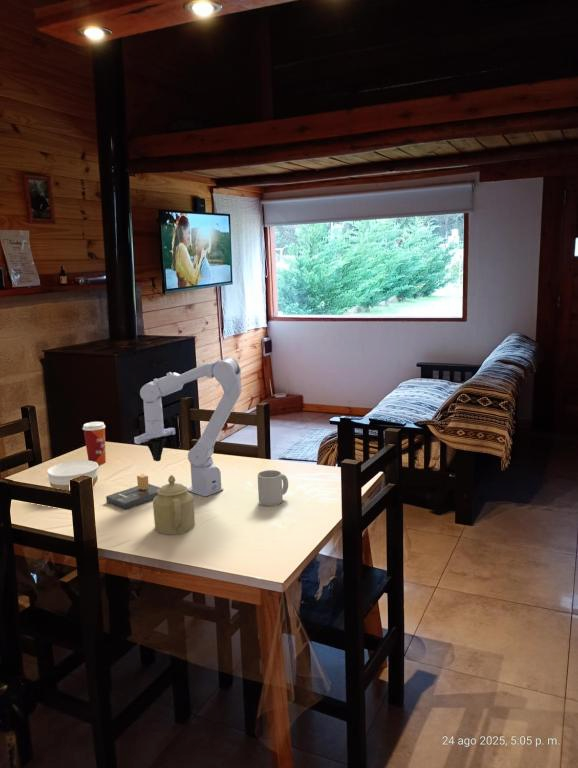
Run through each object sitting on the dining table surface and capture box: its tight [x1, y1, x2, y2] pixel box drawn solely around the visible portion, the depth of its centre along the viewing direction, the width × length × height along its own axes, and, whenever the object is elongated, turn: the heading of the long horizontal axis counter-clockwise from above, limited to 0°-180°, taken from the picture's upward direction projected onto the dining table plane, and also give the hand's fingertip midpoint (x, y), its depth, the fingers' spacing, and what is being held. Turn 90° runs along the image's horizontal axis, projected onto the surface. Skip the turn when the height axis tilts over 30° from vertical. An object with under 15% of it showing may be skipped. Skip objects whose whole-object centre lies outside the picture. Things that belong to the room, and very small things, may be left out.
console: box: [105, 483, 161, 511], centre depth 199 cm, size 10×15×2 cm, turn 138°
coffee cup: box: [81, 421, 107, 466], centre depth 237 cm, size 8×8×15 cm
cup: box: [257, 469, 289, 507], centre depth 193 cm, size 7×10×9 cm
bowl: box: [46, 459, 99, 491], centre depth 208 cm, size 16×16×8 cm
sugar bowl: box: [152, 474, 196, 535], centre depth 175 cm, size 15×11×15 cm
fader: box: [136, 474, 150, 490], centre depth 202 cm, size 3×2×4 cm, turn 48°
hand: (157, 460), depth 205 cm, fingers closed
